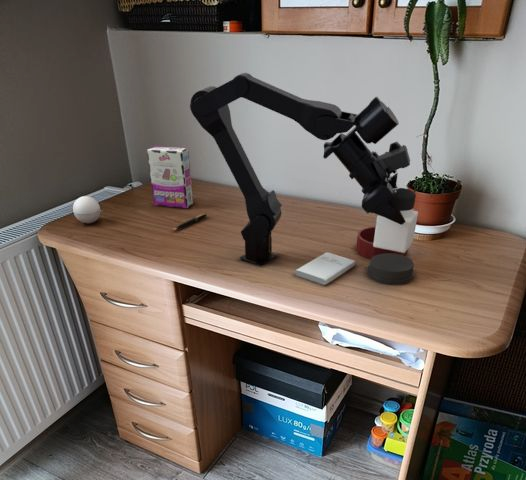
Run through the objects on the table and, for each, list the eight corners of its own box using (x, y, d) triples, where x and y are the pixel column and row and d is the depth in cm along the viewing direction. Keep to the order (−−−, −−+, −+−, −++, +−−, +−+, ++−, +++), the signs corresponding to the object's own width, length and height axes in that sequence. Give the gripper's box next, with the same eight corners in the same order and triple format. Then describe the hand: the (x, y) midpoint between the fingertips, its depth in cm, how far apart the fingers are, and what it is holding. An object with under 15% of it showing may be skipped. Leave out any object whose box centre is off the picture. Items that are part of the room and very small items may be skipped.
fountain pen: (174, 233, 138) (173, 227, 137) (170, 232, 139) (170, 226, 138) (208, 217, 148) (208, 212, 147) (205, 216, 148) (204, 211, 147)
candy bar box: (194, 203, 157) (189, 147, 148) (187, 209, 153) (182, 151, 144) (161, 200, 160) (154, 145, 150) (153, 205, 156) (146, 149, 146)
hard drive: (295, 275, 117) (325, 257, 124) (325, 286, 112) (355, 266, 120) (295, 269, 116) (325, 251, 123) (325, 279, 111) (355, 260, 119)
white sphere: (70, 225, 143) (64, 199, 139) (87, 216, 149) (82, 191, 145) (99, 230, 140) (93, 204, 136) (115, 221, 146) (111, 195, 141)
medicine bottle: (413, 241, 115) (422, 188, 108) (404, 253, 110) (414, 198, 103) (382, 236, 118) (389, 183, 111) (372, 247, 113) (379, 192, 106)
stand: (402, 289, 111) (404, 276, 109) (358, 276, 116) (360, 264, 114) (421, 271, 118) (423, 259, 116) (379, 260, 123) (380, 248, 121)
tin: (392, 265, 121) (394, 249, 118) (347, 253, 126) (349, 237, 124) (412, 248, 128) (415, 233, 126) (369, 237, 134) (371, 222, 132)
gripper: (387, 142, 94) (437, 207, 98) (392, 122, 109) (436, 178, 113) (340, 182, 100) (389, 242, 104) (351, 157, 115) (394, 210, 119)
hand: (404, 216), depth 110 cm, fingers closed on medicine bottle, 8 cm apart
